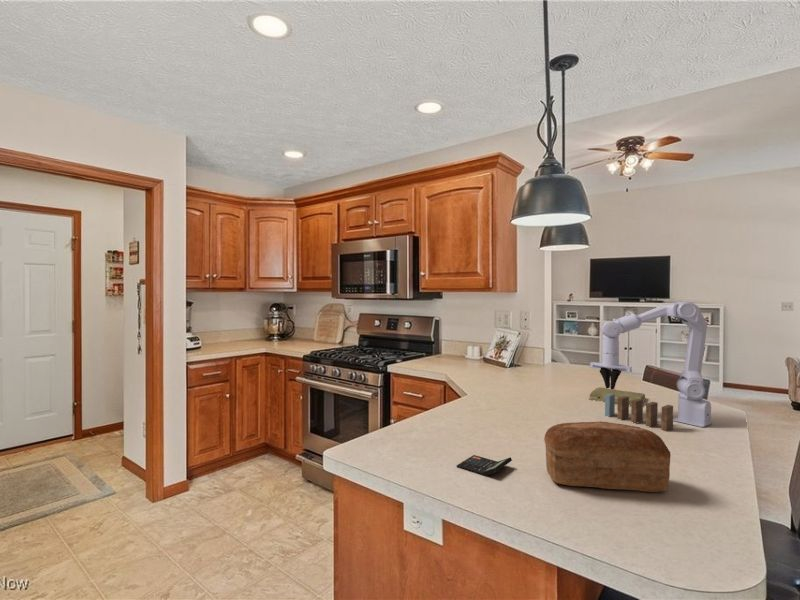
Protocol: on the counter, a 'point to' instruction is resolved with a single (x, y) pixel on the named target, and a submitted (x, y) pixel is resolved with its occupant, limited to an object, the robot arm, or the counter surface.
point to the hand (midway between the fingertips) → (610, 388)
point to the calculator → (482, 465)
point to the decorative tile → (601, 392)
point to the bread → (607, 456)
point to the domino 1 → (609, 404)
